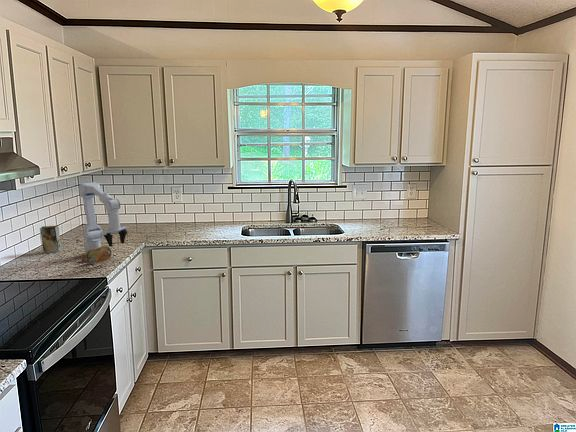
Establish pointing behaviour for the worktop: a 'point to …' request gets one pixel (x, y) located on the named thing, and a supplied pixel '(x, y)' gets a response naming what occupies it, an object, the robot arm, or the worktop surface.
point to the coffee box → (50, 239)
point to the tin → (98, 255)
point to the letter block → (84, 257)
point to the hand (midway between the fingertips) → (116, 244)
